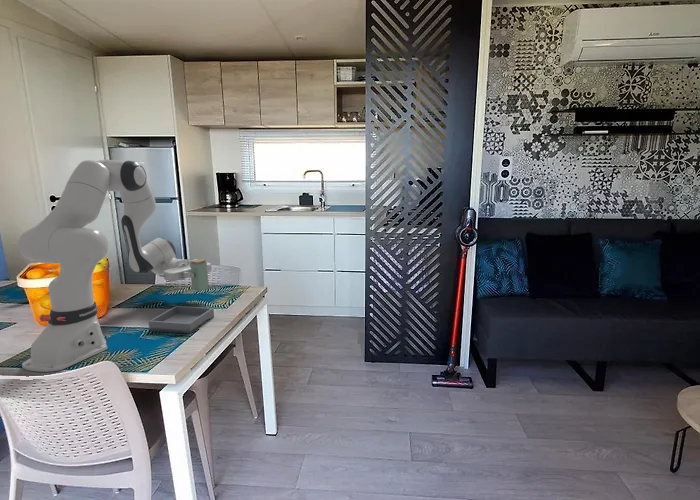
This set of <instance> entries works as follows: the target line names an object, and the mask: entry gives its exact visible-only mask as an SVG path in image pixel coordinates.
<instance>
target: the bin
mask: <svg viewBox="0 0 700 500" xmlns="http://www.w3.org/2000/svg"><path fill="white" fill-rule="evenodd" d="M214 317H215V312H214V307H201V306H200V307H199V306H186V305H185V306H183V305H182V306H181V305H175V306H173V307H171V308H169V309H167V310H166V311H164V312H163V313H160V314H159V315H158V316H157V315H156V316H155V317H153V318H152V319H149V320H148V322H147V323H148V331H150V332H163V333H179V334H192V333H194V332H195V331H196V330H198V329H199V328H200V327H202V326H204V325H205V324H206V323H209V322H210V320H212V319H214Z"/></svg>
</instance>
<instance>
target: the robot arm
mask: <svg viewBox="0 0 700 500" xmlns="http://www.w3.org/2000/svg"><path fill="white" fill-rule="evenodd" d="M107 192H116V193H117V192H119V195H120V198H121V200H122V203H123V215H122V217H121V219H120V220H121V228H122V234H123V238H124V241H125V246H126V251H127V262H128V265H129V267H130V269H131V270H132V271H133V272H134V273H136V274H142V275H145V274H148V273H150V272H152V273H154V274H155V275H157V276H159V277H161V278H163V279H164V280H165V281H167V282H176V281H183V280H186V279H188V278H189V279H191V278H194V277H196V273H193V272H192V273H191V271H190V261H193V260H197V258H190V259H189V258H188V259H183V258H177V251H176V248H175V246H174V244H173V242H171V241H170V240H169V239H167V238H164V237H161V236H158V237H156V238H154V239H153V240H151V241H150V242H148V243H147V244H145V245H143V246H142V244H141V238H140V232H141V229H142V227H143V226H144V224H145V223H147V221H148V219H149V218H151V216H152V215H153V214H154V212H155V210H156V206H157V202H156V198H155V195H154V193H153V190H152V187H151V185H150V183H149V181H148V179H147V172H146V169H145V168H144V167H143V165H142V164H141V163H139V162H137V161H133V160H120V159H119V160H118V159H116V160H115V159H102V160H101V159H100V160H96V159H95V160H92V159H90V160H89V159H87V160H83V161H81V162H80V163H79V164H78V165H77V166H76V168H75V169H74V170H73V172H72V173H71V175H70V177H69V178H68V180H67V182H66V183H65V186H64V189H63V192H62V193H61V195H60V197H59V199H58V201H57V203H56V205H55V207H54V208H53V209H51V211H50V212H49V214H48V215H47V216H45V218H44V219H43V220H41V221H40V222H39V223H38V224H36V225H35V226H33V227H32V228H30V229H28V230H26V231H24V232H23V233H22V234H21V235H20V236H19V239H18V241H17V246H18V247H17V248H18V251H19V253H20V255H21V256H22V257H23V258H25V259H26V260H28V261H32V262H36V263H40V264H59V267H60V268H59V273H58V275H57V277H55V278H54V279H52V280H51V281H50V283H49V284H48V286H47V288H48V291H49V300H50V305H51V306H50V307H51V309H50V312H49V314H44V313H43V314H41V315H40V316H39V321H40V322H47V325H46V326H45V327H44V329H43V330H42V331H41V333H40V334H38V336H37V337H36V339H35V340H34V341H33V342H32V343H31V346H30V357H29V358H28V359H27V360H25V361H23V362H21V368H22V369H23V370H26V371H31V372H39V373H40V372H42V373H43V372H45V373H49V372H57V371H62V370H65V369H67V368H69V367H71V366H73V365H76V364H78V363H80V362H81V361H84V360H86V359H89V358H90V357H93V356H95V355H97V354H99V353H102V352H104V351H106V350H108V345H107V339H106V338H105V337H104V335H103V332H102V328H101V325H100V322H99V320H98V315H97V314H98V306H97V302H96V301H95V299H94V290H93V277H94V276H93V275H94V272H95V269H96V267H97V265H98V264H99V263H100V262H101V260H103V259H104V257H106V255H107V253H108V249H109V242H108V238H107V237H106V236H105V234H104V233H103V232H101V231H99V230H96V229H92V228H87V227H86V226H88V225H89V224H91V223H93V222H94V221H95V220H96V219H97V218H98V217H99V214H100V212H101V209H102V207H103V204H104V201H105V198H106V196H107ZM206 262H207V273H208V274H209V273H211V272H212V270H213V269H212V263H210V262H208V261H206Z"/></svg>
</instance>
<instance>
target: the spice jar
mask: <svg viewBox="0 0 700 500" xmlns="http://www.w3.org/2000/svg"><path fill="white" fill-rule="evenodd" d="M196 259H197V258H196ZM207 262H208V261H207V260H205V259H202V258H201V259H200V258H198V259H197V260H193V261H190V271H191V273H192V272H193V273H196V277H194V278H191V277H190V281H191V282H190V283H191V290H193V291H197V292H201V291H204V290H208V289H210V288H209V277H208V276H209V275H208V274H209V272H208V273H207Z"/></svg>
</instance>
